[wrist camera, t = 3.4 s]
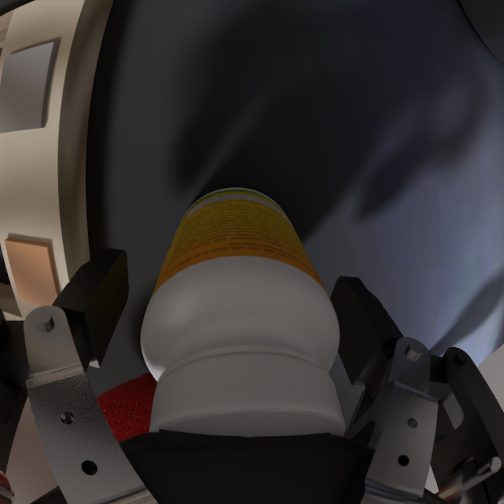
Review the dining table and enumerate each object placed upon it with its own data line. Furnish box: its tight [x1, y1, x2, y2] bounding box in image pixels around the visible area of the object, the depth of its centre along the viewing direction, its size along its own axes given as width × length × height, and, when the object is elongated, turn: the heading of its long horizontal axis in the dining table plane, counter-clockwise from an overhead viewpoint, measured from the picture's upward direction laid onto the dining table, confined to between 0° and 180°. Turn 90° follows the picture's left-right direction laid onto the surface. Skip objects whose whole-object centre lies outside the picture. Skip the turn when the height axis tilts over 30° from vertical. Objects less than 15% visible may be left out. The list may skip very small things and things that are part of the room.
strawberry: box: [97, 372, 157, 442], centre depth 13 cm, size 6×8×10 cm
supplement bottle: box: [141, 188, 345, 437], centre depth 9 cm, size 5×5×10 cm
